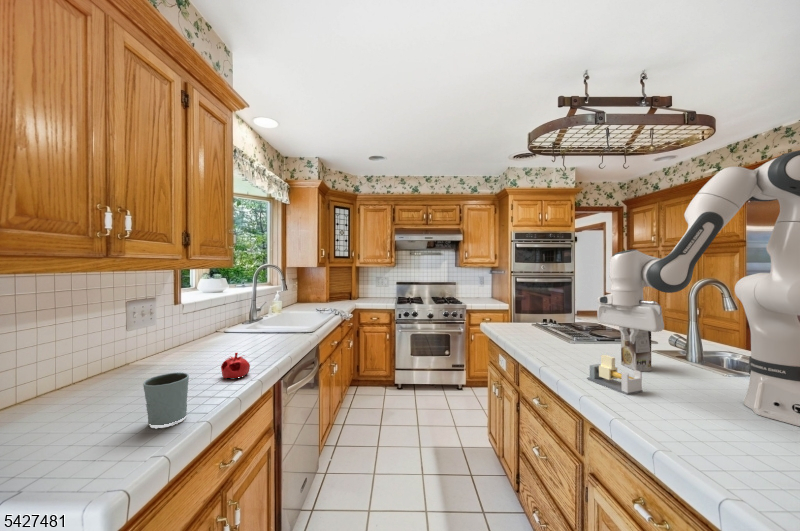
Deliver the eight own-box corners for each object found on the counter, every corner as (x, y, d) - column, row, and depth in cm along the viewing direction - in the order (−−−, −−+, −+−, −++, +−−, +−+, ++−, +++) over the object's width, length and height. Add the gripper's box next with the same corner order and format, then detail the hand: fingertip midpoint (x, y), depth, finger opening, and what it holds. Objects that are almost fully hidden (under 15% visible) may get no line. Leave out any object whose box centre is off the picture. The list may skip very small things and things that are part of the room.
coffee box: (652, 371, 128) (652, 329, 128) (635, 371, 128) (635, 330, 128) (635, 364, 137) (635, 325, 137) (620, 364, 137) (620, 325, 137)
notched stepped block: (617, 378, 114) (617, 357, 114) (609, 380, 113) (609, 358, 113) (607, 375, 118) (606, 354, 118) (598, 376, 117) (598, 355, 117)
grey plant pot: (195, 412, 96) (195, 371, 96) (178, 429, 86) (178, 383, 86) (157, 415, 94) (156, 373, 94) (135, 433, 84) (134, 386, 84)
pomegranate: (234, 372, 132) (234, 349, 132) (255, 373, 130) (255, 350, 130) (214, 380, 123) (214, 355, 123) (236, 382, 120) (236, 356, 120)
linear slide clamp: (642, 391, 108) (642, 371, 108) (626, 394, 106) (626, 374, 106) (601, 377, 122) (601, 359, 122) (586, 379, 120) (586, 361, 120)
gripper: (667, 300, 100) (670, 346, 100) (606, 296, 119) (608, 334, 119) (653, 302, 98) (655, 349, 98) (593, 297, 117) (595, 336, 117)
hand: (629, 341), depth 109 cm, fingers closed
